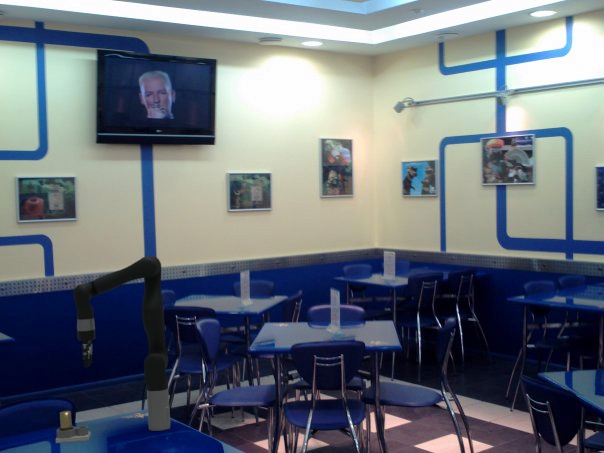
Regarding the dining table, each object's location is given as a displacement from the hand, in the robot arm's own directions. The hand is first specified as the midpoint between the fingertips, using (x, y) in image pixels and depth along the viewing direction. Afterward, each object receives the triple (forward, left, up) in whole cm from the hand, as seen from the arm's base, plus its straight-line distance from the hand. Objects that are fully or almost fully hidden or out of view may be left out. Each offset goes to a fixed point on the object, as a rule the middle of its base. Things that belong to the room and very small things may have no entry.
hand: (88, 365), depth 341 cm
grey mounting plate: (+6, +14, -28) cm, 32 cm away
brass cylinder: (+8, +14, -27) cm, 31 cm away
